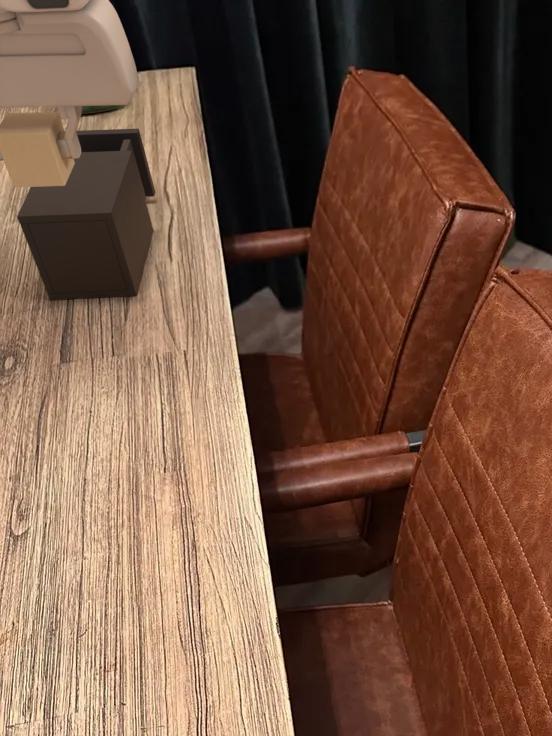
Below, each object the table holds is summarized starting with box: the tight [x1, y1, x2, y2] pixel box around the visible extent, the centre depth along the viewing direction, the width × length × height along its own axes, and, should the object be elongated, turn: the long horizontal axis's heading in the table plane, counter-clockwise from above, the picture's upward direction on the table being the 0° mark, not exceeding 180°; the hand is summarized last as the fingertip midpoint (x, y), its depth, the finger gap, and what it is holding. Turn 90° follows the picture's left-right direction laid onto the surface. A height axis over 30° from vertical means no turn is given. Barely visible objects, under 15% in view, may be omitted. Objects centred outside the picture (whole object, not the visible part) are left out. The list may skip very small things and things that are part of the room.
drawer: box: [76, 128, 156, 202], centre depth 105 cm, size 17×8×8 cm, turn 5°
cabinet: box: [16, 151, 154, 301], centre depth 98 cm, size 15×10×10 cm, turn 5°
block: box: [0, 111, 75, 188], centre depth 77 cm, size 4×4×4 cm
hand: (39, 157), depth 78 cm, fingers closed on block, 4 cm apart
